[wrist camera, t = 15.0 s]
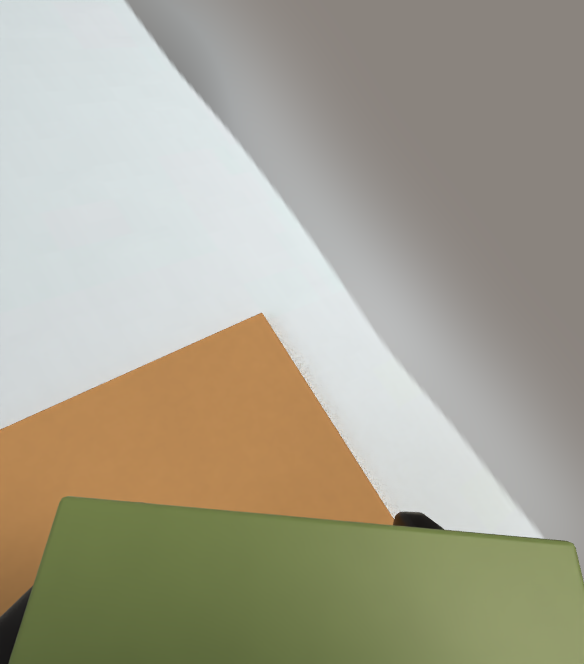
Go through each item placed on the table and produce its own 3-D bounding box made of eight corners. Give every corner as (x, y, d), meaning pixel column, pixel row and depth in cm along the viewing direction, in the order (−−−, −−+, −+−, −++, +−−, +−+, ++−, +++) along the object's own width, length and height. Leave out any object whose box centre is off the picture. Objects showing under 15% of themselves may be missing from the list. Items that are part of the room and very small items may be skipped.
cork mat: (260, 316, 19) (262, 311, 19) (519, 723, 15) (527, 727, 14) (-74, 467, 14) (-80, 464, 14) (157, 1140, 10) (156, 1161, 10)
